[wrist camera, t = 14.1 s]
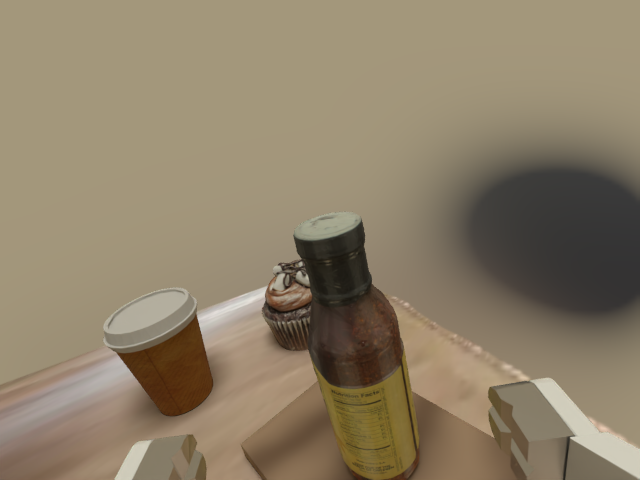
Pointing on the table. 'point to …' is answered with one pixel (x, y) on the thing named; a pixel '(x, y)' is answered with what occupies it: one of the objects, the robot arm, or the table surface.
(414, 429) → the sauce bottle
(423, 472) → the walnut board
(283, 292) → the cupcake
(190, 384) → the disposable coffee cup
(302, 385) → the table surface
